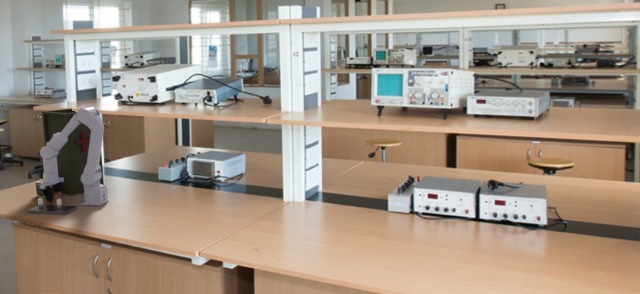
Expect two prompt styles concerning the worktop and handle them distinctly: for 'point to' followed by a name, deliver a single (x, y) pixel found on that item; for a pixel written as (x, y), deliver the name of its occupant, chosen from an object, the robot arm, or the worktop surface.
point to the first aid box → (69, 149)
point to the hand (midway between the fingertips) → (53, 200)
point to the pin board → (51, 208)
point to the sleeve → (54, 198)
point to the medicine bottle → (38, 190)
